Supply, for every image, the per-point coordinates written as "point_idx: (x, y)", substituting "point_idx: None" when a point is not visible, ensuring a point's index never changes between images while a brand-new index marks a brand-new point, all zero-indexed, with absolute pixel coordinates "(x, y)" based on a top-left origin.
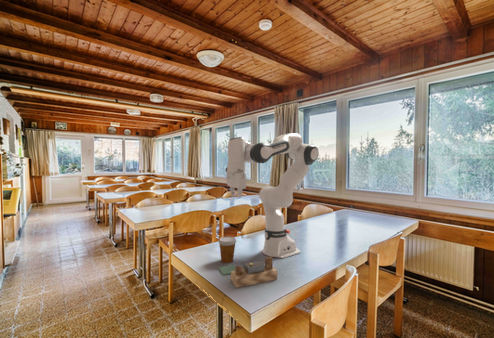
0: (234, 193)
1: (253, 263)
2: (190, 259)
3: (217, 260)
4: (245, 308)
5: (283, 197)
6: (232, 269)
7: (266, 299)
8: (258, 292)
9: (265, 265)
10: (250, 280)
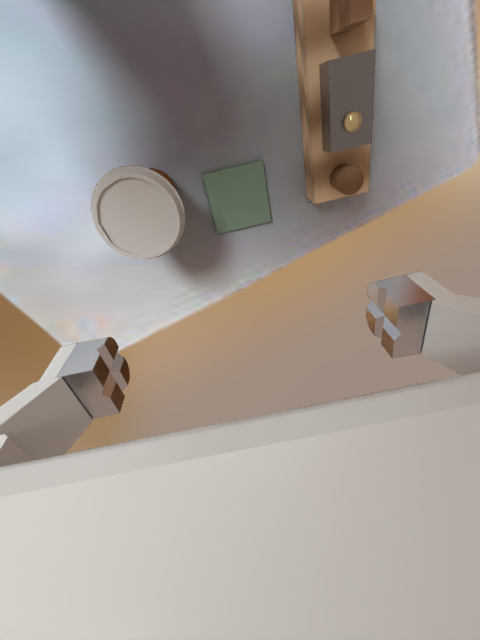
0: (101, 355)
1: (343, 106)
2: (138, 318)
3: None
4: (457, 174)
5: None
6: (243, 183)
7: (455, 95)
8: (410, 112)
9: (341, 31)
10: None
